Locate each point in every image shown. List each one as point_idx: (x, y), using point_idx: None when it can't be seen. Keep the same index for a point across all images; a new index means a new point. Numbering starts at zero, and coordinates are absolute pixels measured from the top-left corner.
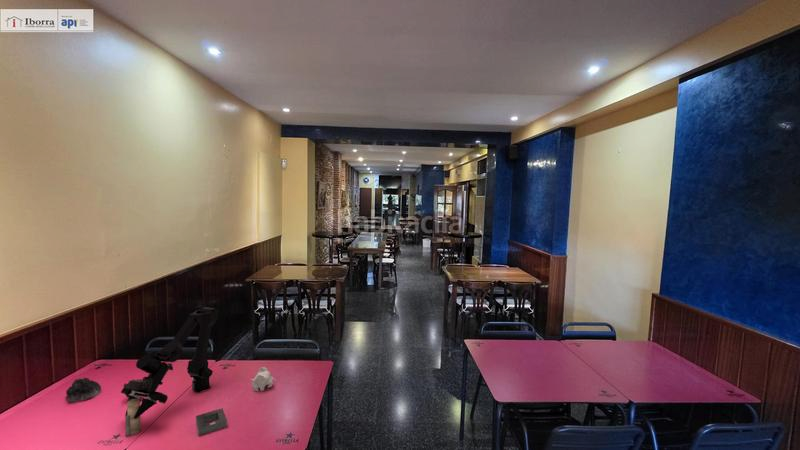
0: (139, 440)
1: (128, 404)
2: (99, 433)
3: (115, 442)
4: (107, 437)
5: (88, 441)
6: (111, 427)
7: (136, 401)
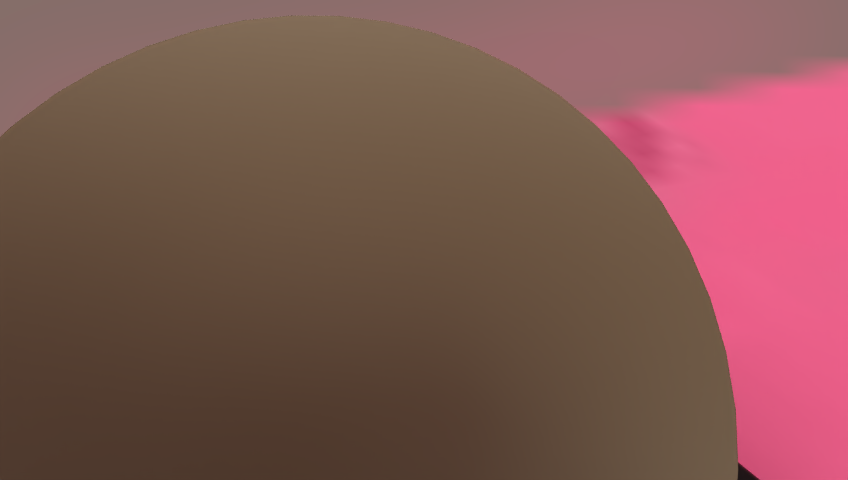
0: None
1: (340, 38)
2: (837, 268)
3: None
4: None
5: (781, 116)
6: (836, 422)
7: (3, 420)
